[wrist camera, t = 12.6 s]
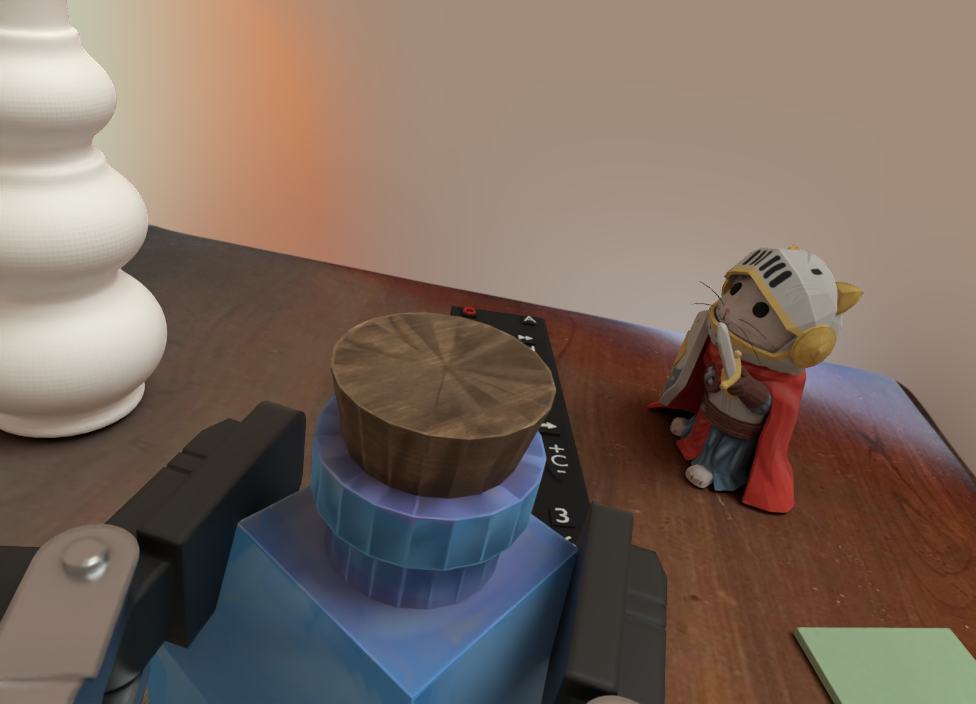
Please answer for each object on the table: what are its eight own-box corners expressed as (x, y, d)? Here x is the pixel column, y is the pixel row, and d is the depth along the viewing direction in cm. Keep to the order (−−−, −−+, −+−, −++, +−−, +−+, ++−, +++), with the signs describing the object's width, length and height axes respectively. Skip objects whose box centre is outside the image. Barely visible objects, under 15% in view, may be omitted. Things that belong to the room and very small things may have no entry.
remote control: (540, 333, 58) (545, 312, 57) (620, 686, 31) (633, 657, 30) (449, 321, 57) (452, 299, 56) (447, 674, 30) (454, 644, 29)
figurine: (607, 387, 53) (667, 195, 45) (751, 406, 54) (831, 222, 47) (647, 509, 41) (735, 280, 34) (828, 529, 43) (950, 312, 35)
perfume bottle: (345, 1082, 12) (459, 639, 6) (159, 807, 15) (112, 328, 9) (551, 812, 17) (734, 401, 11) (375, 641, 20) (439, 244, 14)
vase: (-57, 482, 34) (-226, -134, 22) (-44, 365, 42) (-164, -138, 29) (185, 442, 39) (159, -69, 27) (157, 345, 47) (127, -87, 35)
